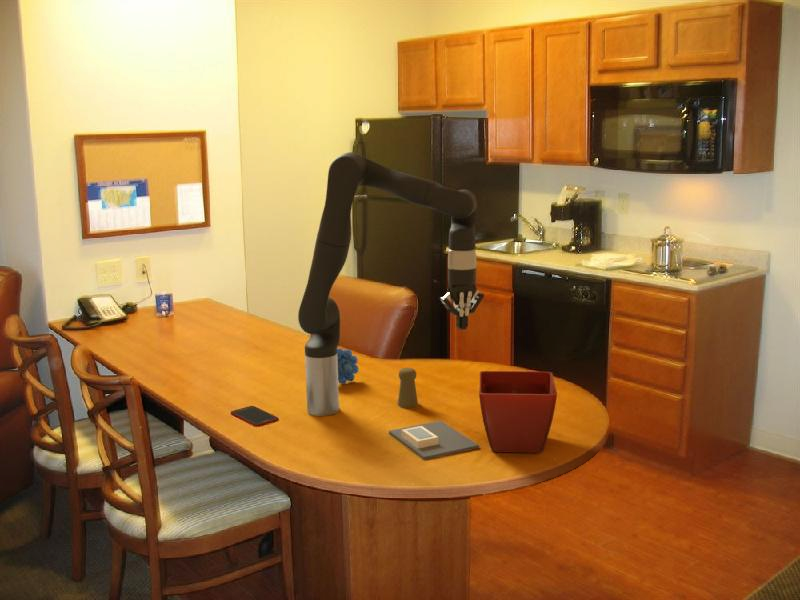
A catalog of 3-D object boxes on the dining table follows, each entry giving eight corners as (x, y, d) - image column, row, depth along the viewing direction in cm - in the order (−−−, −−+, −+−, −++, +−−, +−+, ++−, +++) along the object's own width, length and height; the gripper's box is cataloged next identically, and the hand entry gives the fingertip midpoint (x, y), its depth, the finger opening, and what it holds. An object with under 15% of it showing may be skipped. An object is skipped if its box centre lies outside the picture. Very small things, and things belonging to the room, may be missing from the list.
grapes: (335, 391, 266) (334, 354, 263) (323, 385, 271) (322, 349, 268) (366, 383, 273) (365, 347, 270) (354, 378, 278) (353, 342, 275)
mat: (388, 433, 231) (388, 430, 231) (440, 423, 238) (440, 420, 237) (423, 459, 213) (423, 456, 213) (478, 447, 220) (478, 445, 220)
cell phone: (252, 408, 253) (252, 405, 252) (280, 421, 242) (280, 418, 242) (229, 414, 248) (229, 411, 248) (256, 428, 237) (256, 425, 237)
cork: (394, 406, 251) (394, 370, 249) (401, 400, 257) (401, 364, 254) (414, 408, 249) (413, 372, 247) (420, 402, 255) (420, 366, 252)
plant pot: (479, 429, 233) (479, 369, 229) (550, 430, 231) (552, 371, 227) (478, 457, 214) (478, 393, 211) (555, 459, 213) (557, 394, 209)
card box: (421, 432, 229) (401, 436, 226) (421, 425, 228) (401, 429, 226) (438, 444, 221) (417, 448, 218) (438, 436, 220) (417, 440, 218)
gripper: (476, 261, 234) (475, 323, 237) (433, 266, 228) (433, 329, 232) (490, 265, 227) (490, 329, 231) (447, 270, 221) (447, 335, 225)
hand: (462, 329), depth 231 cm, fingers closed
